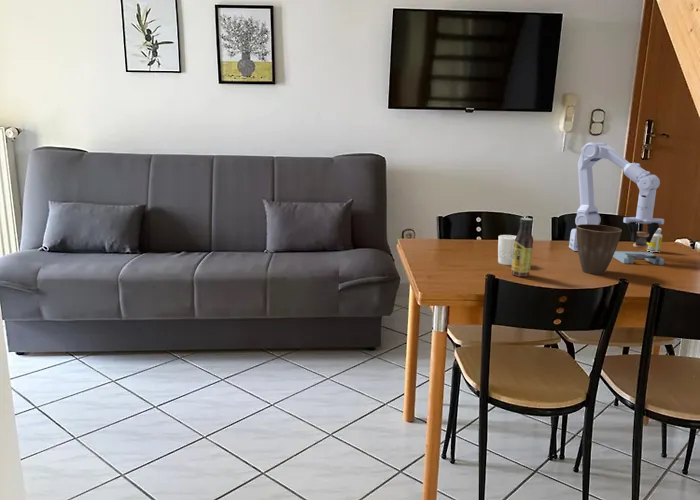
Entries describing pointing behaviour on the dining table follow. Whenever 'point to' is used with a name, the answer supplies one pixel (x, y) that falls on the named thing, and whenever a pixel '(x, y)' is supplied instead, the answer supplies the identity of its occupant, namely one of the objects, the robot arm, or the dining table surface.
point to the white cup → (505, 249)
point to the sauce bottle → (523, 249)
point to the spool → (641, 240)
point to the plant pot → (596, 246)
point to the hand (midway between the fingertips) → (640, 241)
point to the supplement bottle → (655, 242)
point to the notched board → (623, 258)
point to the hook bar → (643, 257)
